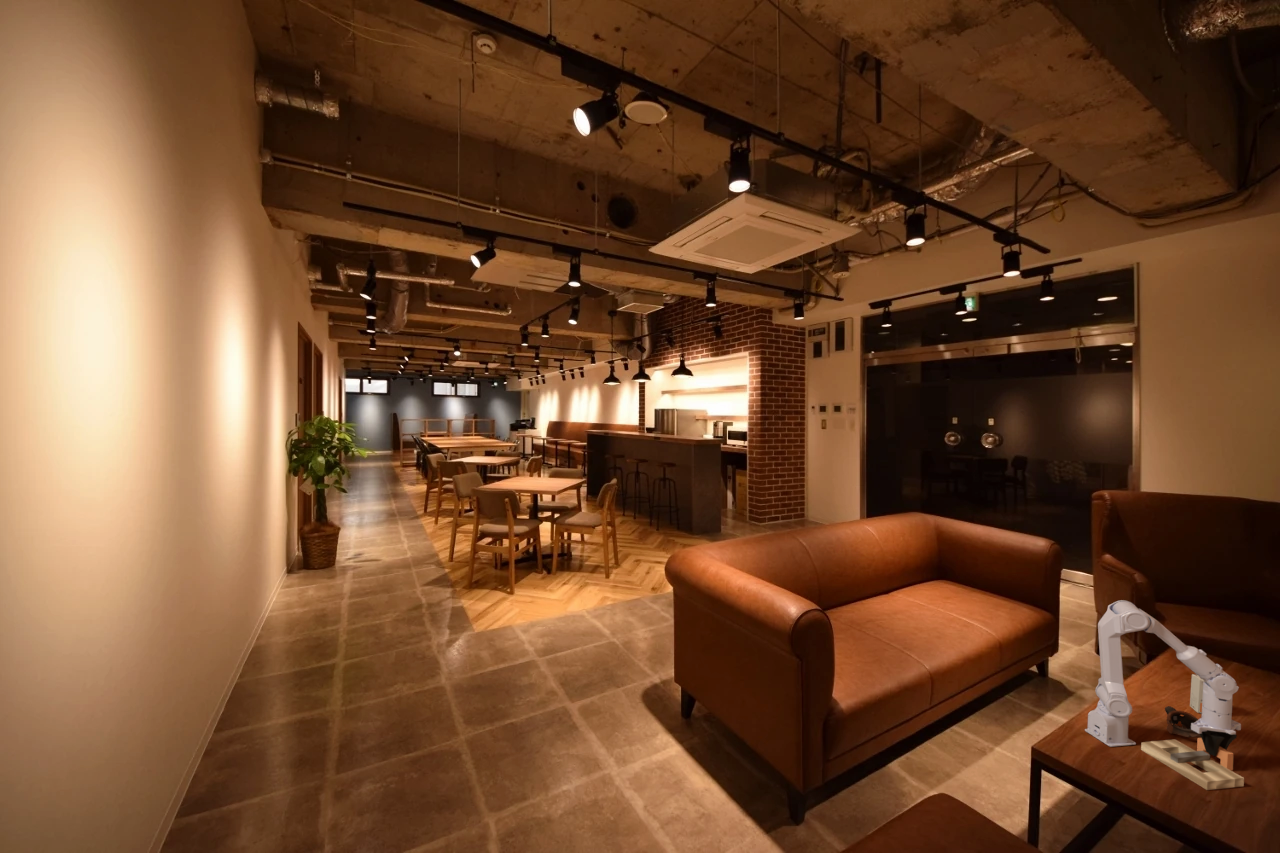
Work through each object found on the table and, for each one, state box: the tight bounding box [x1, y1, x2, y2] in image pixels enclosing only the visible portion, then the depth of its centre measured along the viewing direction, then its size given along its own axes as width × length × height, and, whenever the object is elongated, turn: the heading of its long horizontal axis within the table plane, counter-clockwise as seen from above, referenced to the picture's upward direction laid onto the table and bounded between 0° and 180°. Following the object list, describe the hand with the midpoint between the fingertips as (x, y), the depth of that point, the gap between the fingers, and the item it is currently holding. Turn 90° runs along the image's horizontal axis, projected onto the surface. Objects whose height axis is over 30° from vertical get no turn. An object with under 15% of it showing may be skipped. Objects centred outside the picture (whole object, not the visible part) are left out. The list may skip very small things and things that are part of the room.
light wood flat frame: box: [1140, 739, 1245, 791], centre depth 143 cm, size 12×16×4 cm
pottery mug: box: [1164, 705, 1201, 738], centre depth 159 cm, size 12×10×8 cm
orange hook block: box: [1196, 737, 1234, 771], centre depth 145 cm, size 2×7×5 cm, turn 7°
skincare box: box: [1189, 673, 1205, 714], centre depth 169 cm, size 6×4×12 cm
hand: (1214, 753), depth 145 cm, fingers closed on orange hook block, 2 cm apart
